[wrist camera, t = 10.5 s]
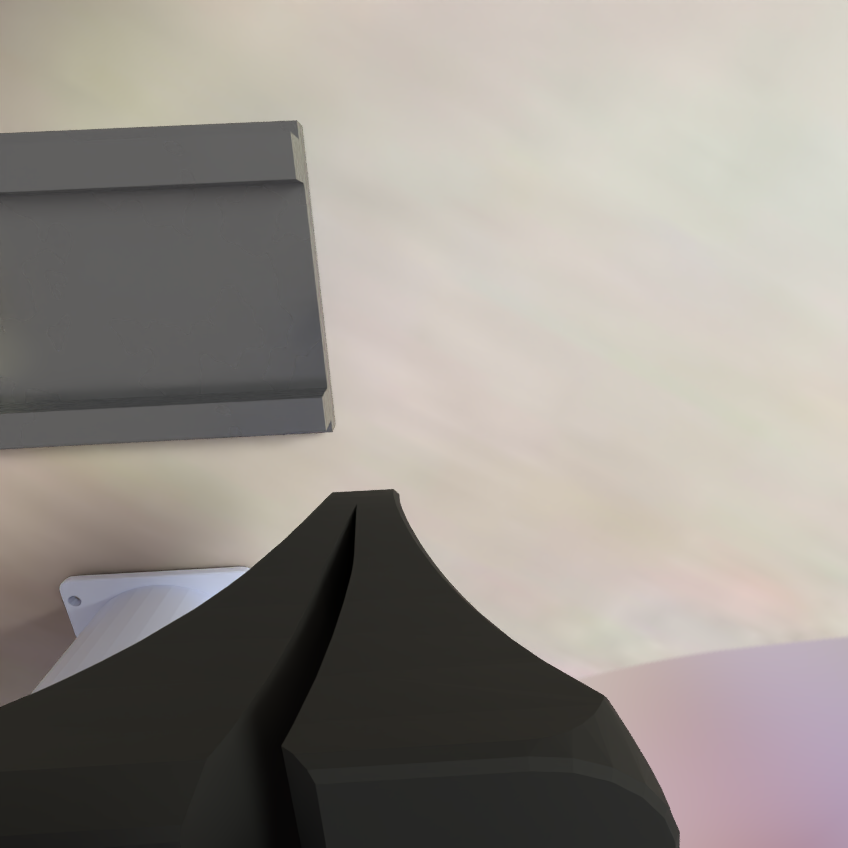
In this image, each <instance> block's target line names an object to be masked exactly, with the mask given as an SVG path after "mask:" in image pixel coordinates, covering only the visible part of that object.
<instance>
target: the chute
mask: <svg viewBox="0 0 848 848" xmlns="http://www.w3.org/2000/svg"><path fill="white" fill-rule="evenodd" d="M334 427H335V416H334V407H333V398H332V389H331V380H330V371H329V362H328V353H327V344H326V335H325V326H324V317H323V308H322V299H321V290H320V282H319V273H318V264H317V255H316V246H315V237H314V228H313V219H312V210H311V201H310V192H309V183H308V174H307V165H306V156H305V147H304V138H303V129H302V125H301V124H300V123H299V122H298V121H297V120H296V121H273V122H250V123H227V124H204V125H181V126H158V127H135V128H113V129H90V130H67V131H44V132H21V133H0V449H15V448H35V447H54V446H73V445H92V444H112V443H131V442H150V441H169V440H189V439H208V438H227V437H246V436H265V435H285V434H304V433H323V432H333V430H334Z"/></svg>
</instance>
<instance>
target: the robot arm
mask: <svg viewBox="0 0 848 848" xmlns="http://www.w3.org/2000/svg"><path fill="white" fill-rule="evenodd" d="M59 589H60V593H61V596H62V599H63V602H64V605H65V607H66V610H67V613H68V616H69V619H70V621H71V624H72V627H73V630H74V633H75V635H76V639H75V640H74V642H73V643H72V644H71V645H70V647H69V648H68V649H67V650H66V651H65V653H64V654H63V655H62V656H61V657H60V659H59V660H58V661H57V662H56V663H55V665H54V666H53V667H52V668H51V670H50V671H49V672H48V673H47V674H46V676H45V677H44V678H43V679H42V680H41V682H40V683H39V684H38V685H37V687H36V688H35V689H34V690H33V691H32V693H31V694H30V695H28V696H26V697H23V698H21V699H18V700H16V701H14V702H11V703H9V704H6V705H4V706H2V707H0V848H679V837H680V835H679V834H680V832H679V830H678V827H677V825H676V822H675V820H674V818H673V816H672V813H671V810H670V807H669V805H668V803H667V800H666V798H665V796H664V793H663V791H662V789H661V787H660V785H659V783H658V781H657V779H656V778H655V775H654V773H653V772H652V770H651V768H650V766H649V764H648V762H647V761H646V759H645V757H644V756H643V754H642V752H641V751H640V749H639V748H638V746H637V744H636V742H635V741H634V739H633V737H632V736H631V734H630V733H629V731H628V730H627V728H626V726H625V725H624V723H623V722H622V720H621V719H620V717H619V715H618V714H617V712H616V711H615V709H614V708H613V706H612V705H611V703H610V702H609V700H608V699H607V698H606V697H605V696H604V695H602V694H601V693H599V692H597V691H595V690H593V689H592V688H590V687H588V686H586V685H584V684H583V683H581V682H580V681H578V680H576V679H574V678H573V677H571V676H569V675H567V674H566V673H564V672H562V671H560V670H559V669H557V668H555V667H553V666H552V665H550V664H548V663H546V662H545V661H543V660H542V659H540V658H538V657H537V656H535V655H534V654H533V653H531V652H530V651H528V650H527V649H525V648H524V647H522V646H521V645H520V644H518V643H517V642H515V641H514V640H512V639H511V638H510V637H508V636H507V635H506V634H505V633H504V632H502V631H501V630H500V629H499V628H497V627H496V626H495V625H494V624H493V623H491V622H490V621H489V620H488V619H487V618H485V617H484V616H483V615H482V614H481V613H479V612H478V611H477V610H476V609H475V608H474V607H473V606H472V605H471V604H470V603H469V602H468V601H467V600H466V599H465V598H464V597H463V596H462V595H461V594H460V593H459V592H458V591H457V590H456V589H455V587H454V586H453V585H452V584H451V583H450V582H449V581H448V580H447V578H446V577H445V576H444V575H443V574H442V572H441V571H440V570H439V569H438V567H437V566H436V565H435V563H434V562H433V561H432V559H431V558H430V557H429V555H428V554H427V553H426V551H425V550H424V548H423V547H422V545H421V544H420V542H419V540H418V538H417V537H416V535H415V533H414V532H413V530H412V528H411V527H410V525H409V523H408V521H407V519H406V516H405V514H404V512H403V510H402V507H401V504H400V498H399V494H398V493H397V492H396V491H395V490H394V489H388V490H370V491H351V492H333V493H332V494H330V495H329V496H328V497H327V498H326V499H325V500H324V501H323V502H322V503H321V504H320V505H319V506H318V507H317V508H316V509H315V510H314V511H313V512H312V513H311V514H310V515H309V516H308V517H307V518H306V519H305V520H304V521H303V522H302V523H301V524H300V525H299V526H298V527H297V528H296V529H295V530H294V531H293V532H292V533H291V534H290V535H289V536H288V537H287V538H286V539H284V540H283V541H282V542H281V543H280V544H279V545H278V546H276V547H275V548H274V549H273V550H272V551H271V552H269V553H268V554H267V555H266V556H265V557H264V558H262V559H261V560H260V561H259V562H258V563H257V564H255V565H254V566H253V567H252V568H251V569H250V568H248V567H226V568H208V569H190V570H172V571H154V572H136V573H117V574H99V575H81V576H71V577H68V578H67V579H65V580H64V581H63V582H62V583H61V585H60V587H59ZM75 596H76V597H78V598H80V600H79V599H77V598H76V597H75Z"/></svg>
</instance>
